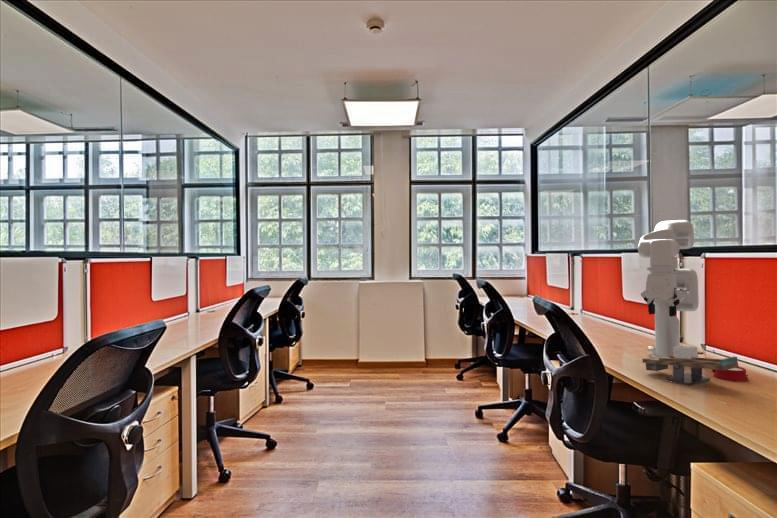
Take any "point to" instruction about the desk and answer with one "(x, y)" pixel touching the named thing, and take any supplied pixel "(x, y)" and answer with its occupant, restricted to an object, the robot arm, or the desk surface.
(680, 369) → the stand
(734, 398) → the desk surface
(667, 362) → the beam
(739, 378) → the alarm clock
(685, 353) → the rider
